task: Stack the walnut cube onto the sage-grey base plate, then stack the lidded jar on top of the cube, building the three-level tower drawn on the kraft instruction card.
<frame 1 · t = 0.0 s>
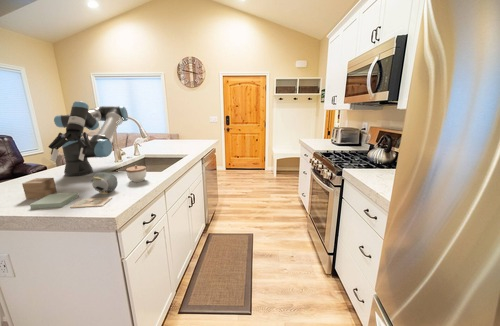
hand: (67, 160, 116), 15 cm above the countertop, fingers open, 13 cm apart
base plate: (56, 202, 100), on the countertop
decorative toy: (105, 193, 110), on the countertop
walnut cube: (42, 195, 108), on the countertop
instruction card: (92, 202, 99), on the countertop
lidded jar: (137, 180, 130), on the countertop
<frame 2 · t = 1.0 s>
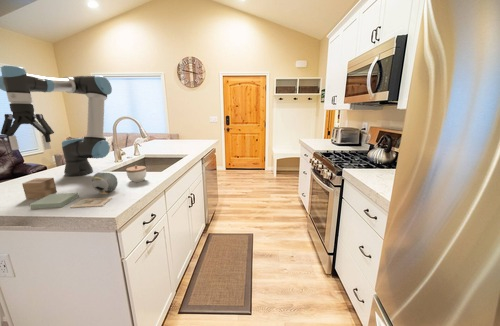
hand: (31, 149, 102), 23 cm above the countertop, fingers open, 13 cm apart
nothing on the countertop moved.
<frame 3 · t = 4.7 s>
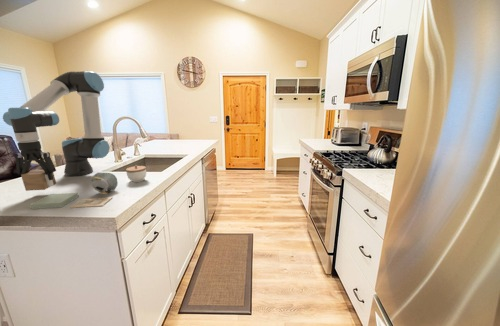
hand: (41, 186, 107), 5 cm above the countertop, fingers closed on walnut cube, 8 cm apart
walnut cube: (41, 187, 107), point 4 cm above the countertop, touching gripper
everything else where it was.
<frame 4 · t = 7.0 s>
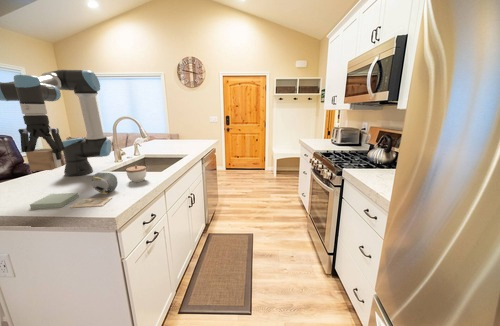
hand: (47, 167, 96), 17 cm above the countertop, fingers closed on walnut cube, 8 cm apart
walnut cube: (48, 167, 96), point 16 cm above the countertop, touching gripper
everything else where it was.
when the fingers open (4 cm above the countertop, at t = 9.7 s): walnut cube drops 1 cm, resting on base plate.
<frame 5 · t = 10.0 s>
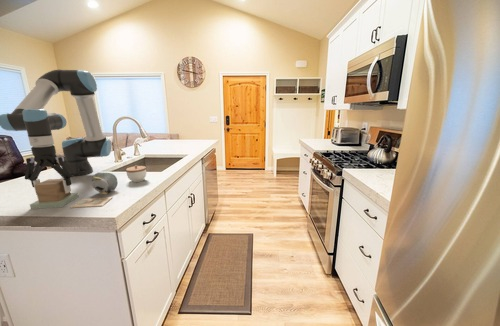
hand: (54, 192, 99), 5 cm above the countertop, fingers open, 11 cm apart
walnut cube: (55, 198, 99), point 2 cm above the countertop, touching base plate
everything else where it was.
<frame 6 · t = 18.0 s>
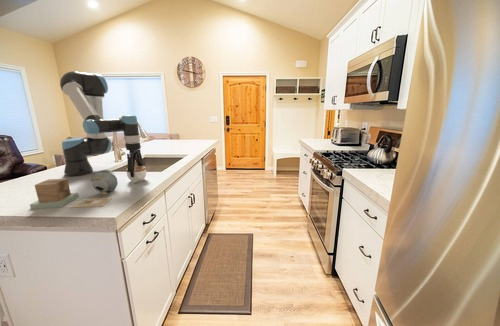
hand: (137, 178, 130), 1 cm above the countertop, fingers closed on lidded jar, 11 cm apart
lidded jar: (137, 180, 130), on the countertop, touching gripper
everything else where it was.
when the fingers open (12 cm above the countertop, at t = 27.2 s): lidded jar stays where it is, resting on walnut cube.
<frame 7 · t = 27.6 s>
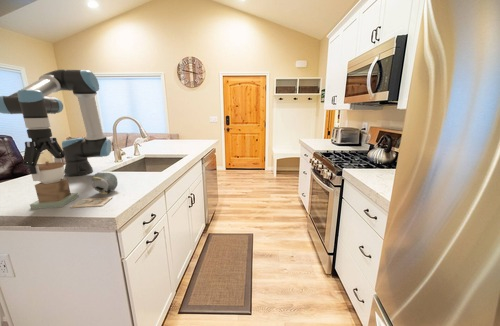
hand: (50, 176, 97), 13 cm above the countertop, fingers open, 13 cm apart
walnut cube: (55, 198, 100), point 2 cm above the countertop, touching base plate, lidded jar
lidded jar: (51, 182, 97), point 10 cm above the countertop, touching walnut cube
everything else where it was.
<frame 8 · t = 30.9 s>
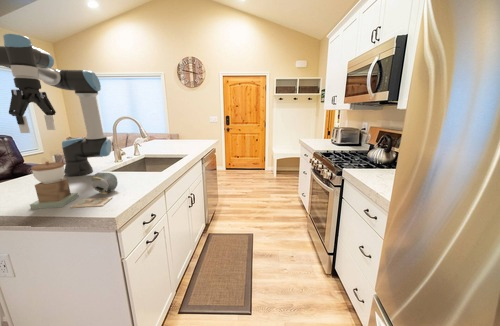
hand: (39, 131, 92), 33 cm above the countertop, fingers open, 13 cm apart
nothing on the countertop moved.
at the end: walnut cube inside the target area on the base plate (0.2 cm from its centre), point 2.0 cm above the base plate's base; lidded jar 0.2 cm off-centre on the walnut cube, point 7.8 cm above the walnut cube's base; lidded jar tilted 0° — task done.
